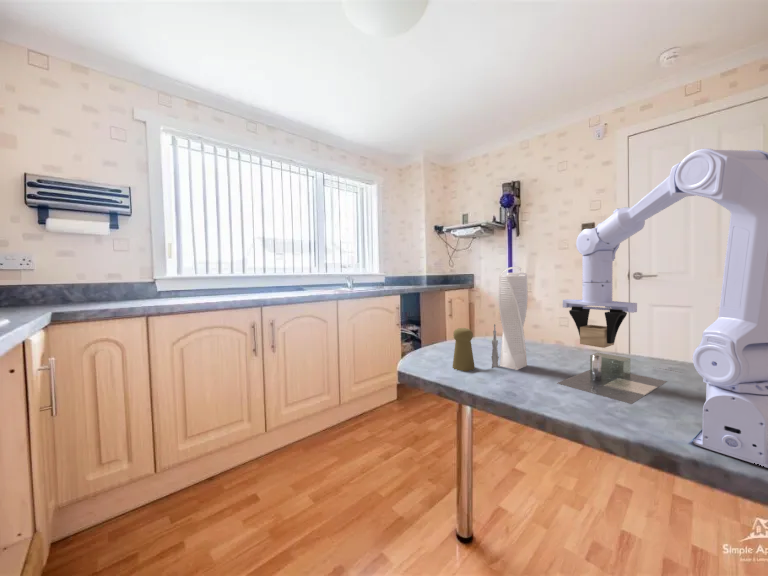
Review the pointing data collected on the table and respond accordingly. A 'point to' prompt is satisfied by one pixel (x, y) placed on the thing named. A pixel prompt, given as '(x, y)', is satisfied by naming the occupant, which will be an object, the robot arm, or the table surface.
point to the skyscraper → (511, 320)
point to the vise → (612, 379)
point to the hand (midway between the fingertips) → (596, 340)
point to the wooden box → (594, 336)
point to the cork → (463, 350)
